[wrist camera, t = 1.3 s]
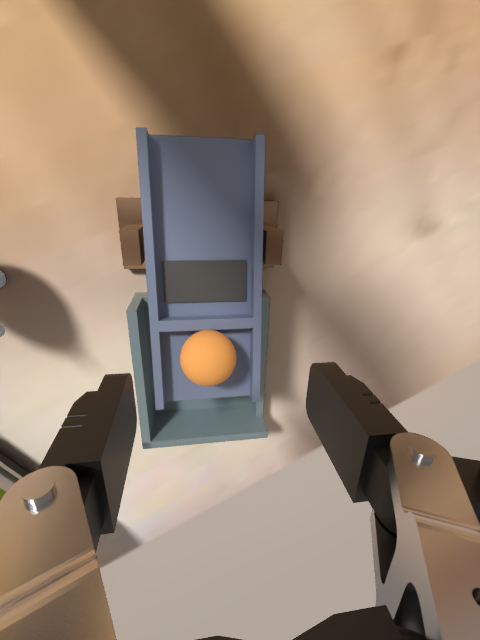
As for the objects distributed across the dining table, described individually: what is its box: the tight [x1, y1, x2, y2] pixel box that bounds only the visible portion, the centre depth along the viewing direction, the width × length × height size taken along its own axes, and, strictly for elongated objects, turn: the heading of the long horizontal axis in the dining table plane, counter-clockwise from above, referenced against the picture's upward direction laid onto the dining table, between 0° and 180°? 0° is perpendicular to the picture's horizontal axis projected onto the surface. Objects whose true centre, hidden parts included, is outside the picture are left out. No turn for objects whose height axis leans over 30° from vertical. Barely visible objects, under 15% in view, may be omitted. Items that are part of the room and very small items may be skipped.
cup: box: [126, 290, 270, 449], centre depth 32 cm, size 15×13×5 cm
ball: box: [180, 330, 236, 386], centre depth 22 cm, size 4×4×4 cm
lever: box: [136, 128, 265, 410], centre depth 23 cm, size 19×8×2 cm, turn 179°
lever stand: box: [116, 198, 283, 269], centre depth 26 cm, size 6×14×8 cm, turn 89°
